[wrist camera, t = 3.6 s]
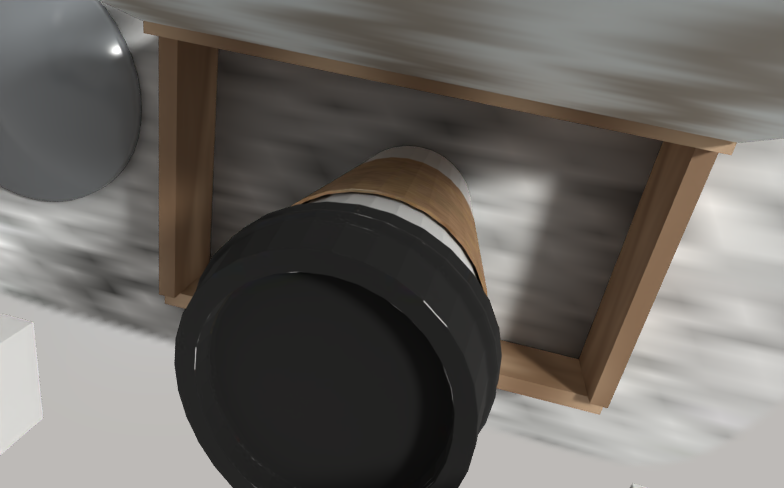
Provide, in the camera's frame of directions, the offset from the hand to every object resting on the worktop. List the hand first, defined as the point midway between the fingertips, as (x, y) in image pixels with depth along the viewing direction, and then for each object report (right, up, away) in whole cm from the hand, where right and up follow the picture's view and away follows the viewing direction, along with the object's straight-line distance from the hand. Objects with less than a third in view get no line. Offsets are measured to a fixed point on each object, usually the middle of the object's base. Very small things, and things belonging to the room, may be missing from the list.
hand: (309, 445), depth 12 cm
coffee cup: (+3, +6, +14) cm, 16 cm away
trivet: (-16, +12, +15) cm, 26 cm away
